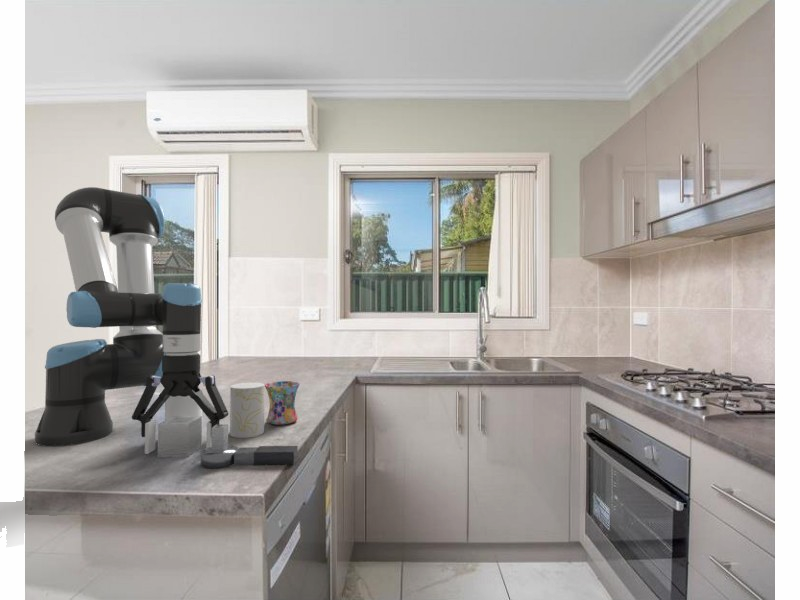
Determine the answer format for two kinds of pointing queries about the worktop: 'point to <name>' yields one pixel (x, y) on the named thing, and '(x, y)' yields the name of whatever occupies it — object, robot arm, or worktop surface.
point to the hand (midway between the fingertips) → (180, 451)
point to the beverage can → (181, 407)
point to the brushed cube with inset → (179, 436)
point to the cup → (246, 410)
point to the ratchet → (243, 453)
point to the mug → (282, 402)
